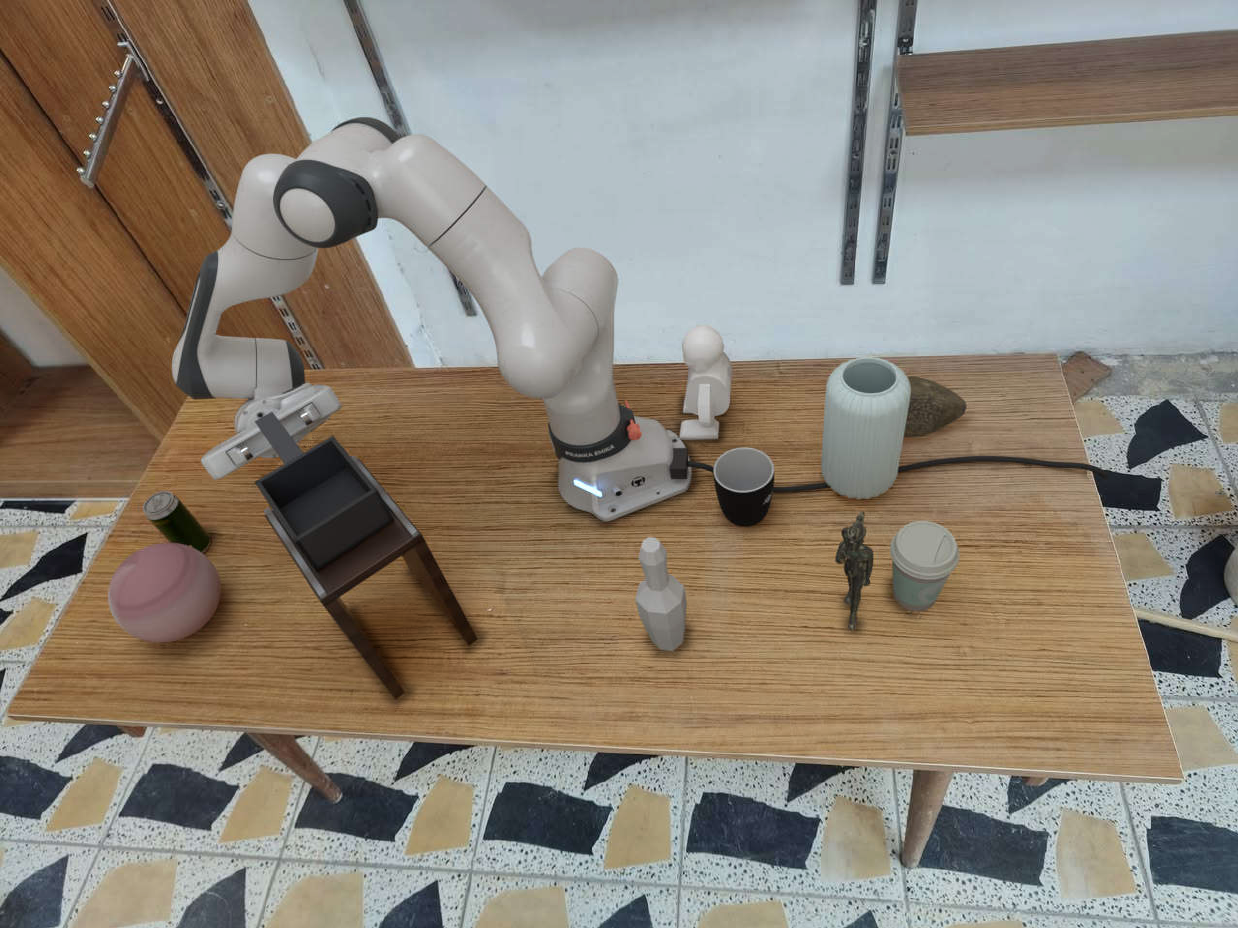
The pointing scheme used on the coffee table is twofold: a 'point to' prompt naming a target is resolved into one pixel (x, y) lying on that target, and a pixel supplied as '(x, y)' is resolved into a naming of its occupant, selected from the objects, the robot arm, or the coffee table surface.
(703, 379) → the toy robot
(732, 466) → the mug
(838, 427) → the vase
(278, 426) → the basket
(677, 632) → the faceted bottle
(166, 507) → the beer can
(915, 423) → the stone
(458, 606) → the stand
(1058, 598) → the coffee table surface
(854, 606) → the statue
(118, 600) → the pink rounded ball
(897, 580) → the coffee cup
